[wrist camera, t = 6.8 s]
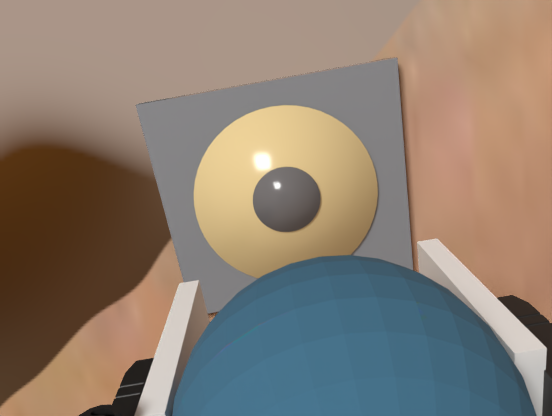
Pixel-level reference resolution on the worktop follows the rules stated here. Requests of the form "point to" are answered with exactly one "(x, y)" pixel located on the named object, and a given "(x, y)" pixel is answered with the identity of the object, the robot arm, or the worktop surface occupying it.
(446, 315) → the light bulb
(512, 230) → the worktop surface
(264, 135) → the socket board
